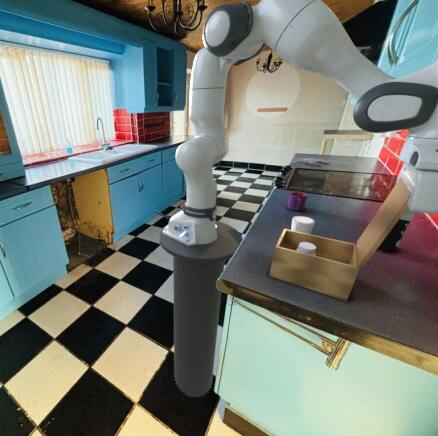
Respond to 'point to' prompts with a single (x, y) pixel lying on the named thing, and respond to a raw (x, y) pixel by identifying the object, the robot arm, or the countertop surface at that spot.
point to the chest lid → (383, 221)
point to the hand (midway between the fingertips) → (403, 217)
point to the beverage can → (394, 236)
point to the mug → (296, 201)
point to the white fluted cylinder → (302, 224)
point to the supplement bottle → (306, 248)
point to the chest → (316, 263)
